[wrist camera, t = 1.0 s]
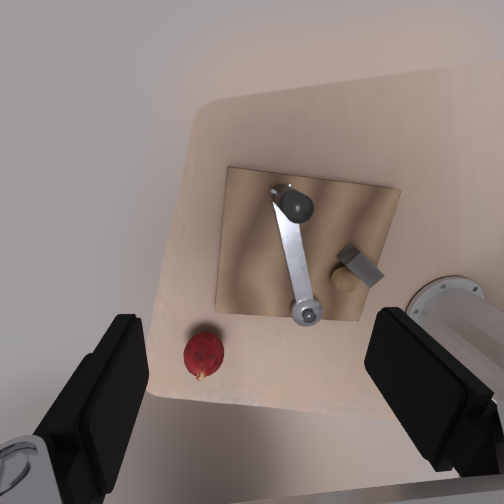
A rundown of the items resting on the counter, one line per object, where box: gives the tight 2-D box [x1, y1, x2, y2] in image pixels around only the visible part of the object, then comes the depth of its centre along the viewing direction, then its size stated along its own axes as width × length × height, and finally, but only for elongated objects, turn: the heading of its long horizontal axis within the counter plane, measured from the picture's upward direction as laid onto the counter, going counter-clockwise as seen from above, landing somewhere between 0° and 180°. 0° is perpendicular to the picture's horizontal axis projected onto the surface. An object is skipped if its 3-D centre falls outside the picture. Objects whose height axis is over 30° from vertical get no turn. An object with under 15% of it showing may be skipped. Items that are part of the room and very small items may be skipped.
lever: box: [269, 183, 323, 326], centre depth 30 cm, size 20×4×9 cm, turn 15°
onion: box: [184, 332, 224, 381], centre depth 36 cm, size 6×6×8 cm
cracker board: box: [215, 167, 402, 322], centre depth 33 cm, size 22×20×6 cm
